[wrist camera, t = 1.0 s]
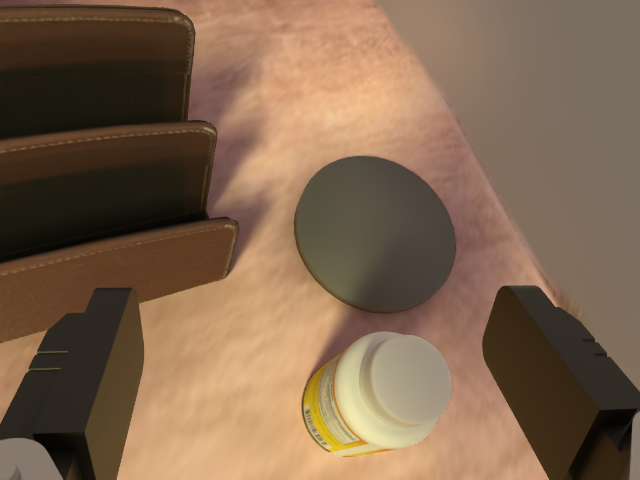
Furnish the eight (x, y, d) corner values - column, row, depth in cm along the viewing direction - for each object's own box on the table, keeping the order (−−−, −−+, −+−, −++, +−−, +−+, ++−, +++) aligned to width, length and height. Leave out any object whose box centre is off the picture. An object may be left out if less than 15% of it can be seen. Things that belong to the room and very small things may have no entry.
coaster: (261, 246, 34) (264, 239, 33) (344, 138, 40) (349, 129, 39) (408, 347, 34) (416, 342, 33) (469, 223, 40) (477, 216, 39)
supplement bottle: (394, 384, 33) (480, 347, 24) (368, 472, 30) (455, 467, 21) (317, 348, 32) (375, 297, 24) (283, 434, 30) (336, 412, 21)
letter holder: (-173, 218, 28) (-428, 12, 16) (182, 154, 36) (194, -17, 24) (-156, 392, 25) (-455, 301, 13) (228, 280, 33) (268, 159, 21)
